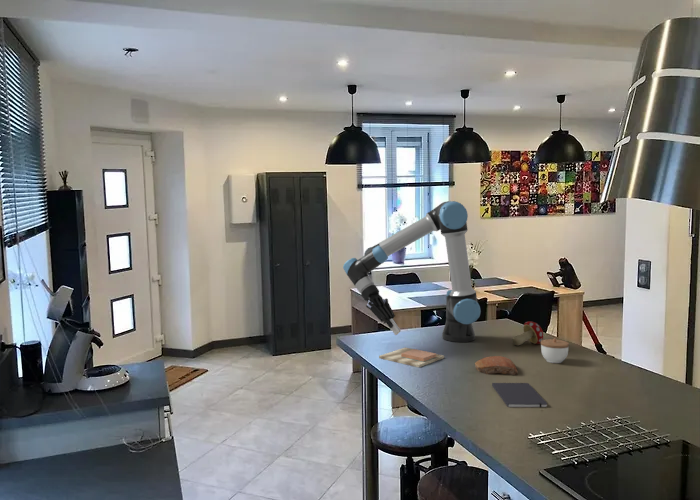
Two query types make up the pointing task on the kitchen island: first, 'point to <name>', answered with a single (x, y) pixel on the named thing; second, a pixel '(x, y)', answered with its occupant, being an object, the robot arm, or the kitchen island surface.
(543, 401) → the notebook
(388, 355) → the board
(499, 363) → the ceramic shard
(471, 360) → the kitchen island surface
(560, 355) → the lidded jar
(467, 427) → the kitchen island surface
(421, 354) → the tile
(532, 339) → the decorative mushroom
